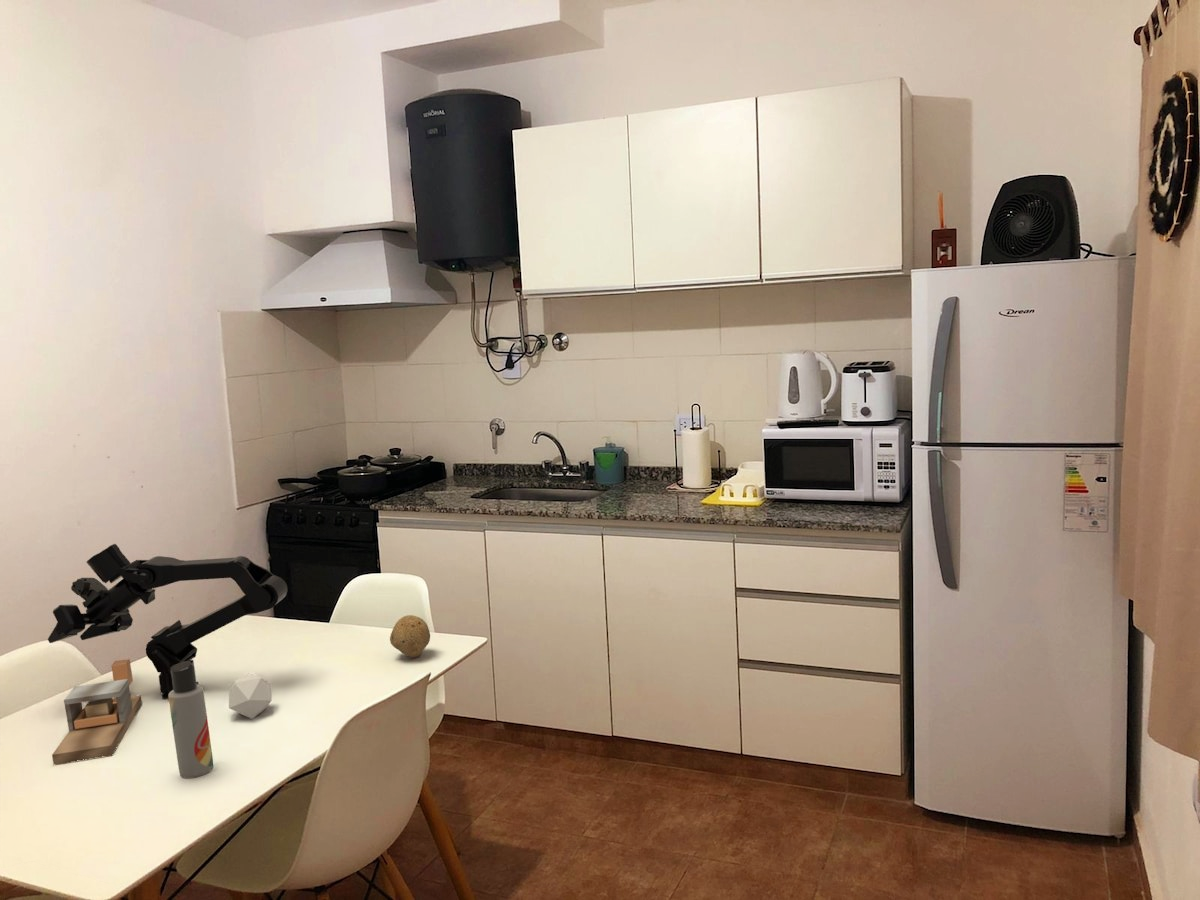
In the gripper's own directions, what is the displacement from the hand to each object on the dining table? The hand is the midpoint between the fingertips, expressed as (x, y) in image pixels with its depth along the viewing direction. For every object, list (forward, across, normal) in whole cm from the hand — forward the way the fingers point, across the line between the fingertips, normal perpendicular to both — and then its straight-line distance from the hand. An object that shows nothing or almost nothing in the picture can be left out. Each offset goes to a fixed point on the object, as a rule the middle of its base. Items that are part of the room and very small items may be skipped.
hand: (65, 639), depth 205 cm
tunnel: (-6, +11, +25) cm, 28 cm away
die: (-30, +1, +38) cm, 49 cm away
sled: (-5, +3, +19) cm, 20 cm away
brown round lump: (-53, -29, +43) cm, 74 cm away
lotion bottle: (-29, +24, +46) cm, 60 cm away
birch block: (-7, +10, +23) cm, 26 cm away
